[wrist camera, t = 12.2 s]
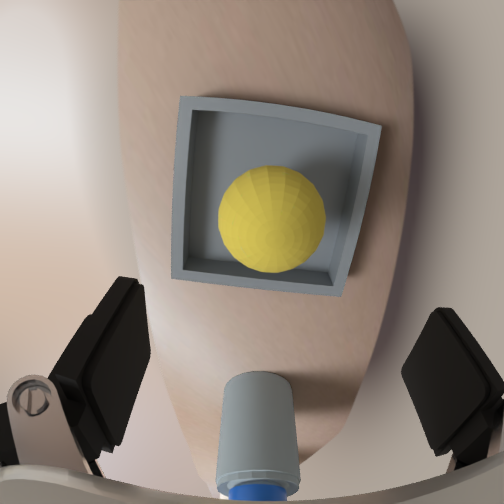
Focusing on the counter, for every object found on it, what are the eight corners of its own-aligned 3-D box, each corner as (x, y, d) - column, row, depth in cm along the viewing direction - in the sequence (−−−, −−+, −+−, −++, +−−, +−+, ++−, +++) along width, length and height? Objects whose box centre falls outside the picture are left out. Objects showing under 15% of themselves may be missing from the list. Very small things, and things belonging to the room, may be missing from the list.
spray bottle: (242, 362, 35) (232, 573, 12) (304, 382, 36) (327, 569, 14) (213, 400, 38) (195, 571, 15) (270, 416, 40) (274, 575, 17)
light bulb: (213, 207, 26) (190, 260, 16) (252, 138, 23) (250, 151, 14) (281, 243, 27) (293, 311, 18) (322, 179, 24) (361, 218, 15)
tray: (190, 98, 22) (180, 96, 19) (366, 123, 23) (381, 125, 20) (180, 260, 29) (171, 278, 26) (332, 277, 29) (341, 296, 26)
